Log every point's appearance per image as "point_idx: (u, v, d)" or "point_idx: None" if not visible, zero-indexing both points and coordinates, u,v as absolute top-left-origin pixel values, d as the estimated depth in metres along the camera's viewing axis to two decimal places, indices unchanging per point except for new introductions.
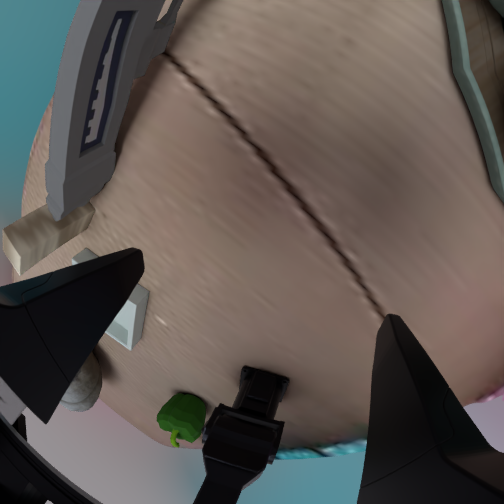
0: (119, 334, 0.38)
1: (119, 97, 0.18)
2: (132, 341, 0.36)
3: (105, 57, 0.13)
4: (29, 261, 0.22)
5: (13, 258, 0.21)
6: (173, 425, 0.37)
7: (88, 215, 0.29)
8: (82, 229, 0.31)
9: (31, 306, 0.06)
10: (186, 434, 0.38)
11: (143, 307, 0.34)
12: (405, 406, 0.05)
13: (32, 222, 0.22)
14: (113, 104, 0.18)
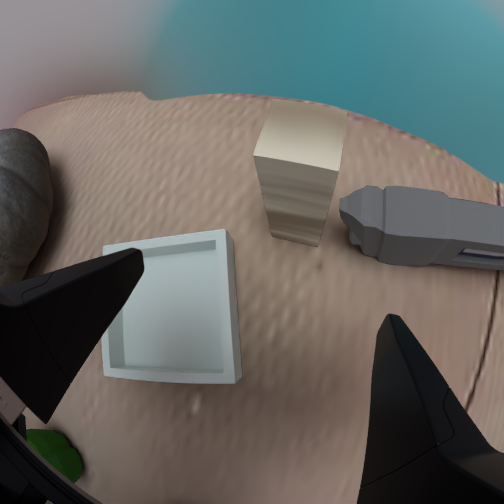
0: (114, 344, 0.21)
1: (499, 266, 0.16)
2: None
3: None
4: (289, 177, 0.13)
5: (295, 137, 0.12)
6: None
7: (311, 242, 0.22)
8: (278, 234, 0.23)
9: (31, 306, 0.06)
10: None
11: None
12: (405, 406, 0.05)
13: None
14: (495, 262, 0.16)
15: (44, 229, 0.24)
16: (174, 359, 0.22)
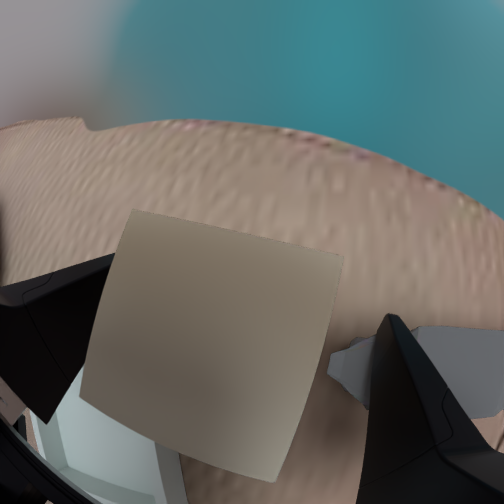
0: (51, 450, 0.12)
1: None
2: None
3: None
4: None
5: (167, 370, 0.04)
6: None
7: None
8: None
9: (31, 307, 0.06)
10: None
11: None
12: (404, 406, 0.05)
13: None
14: None
15: None
16: (113, 477, 0.13)
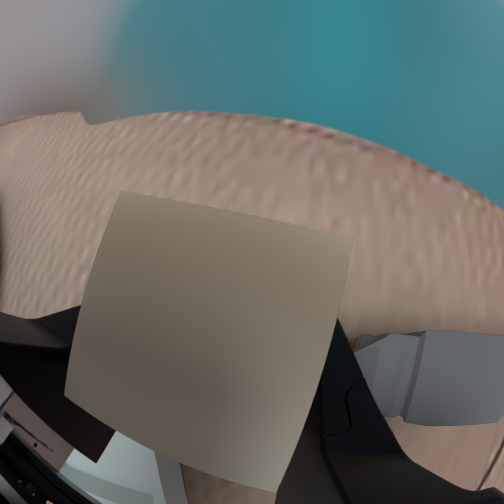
0: None
1: None
2: None
3: None
4: None
5: (155, 367, 0.04)
6: None
7: None
8: None
9: None
10: None
11: None
12: None
13: None
14: None
15: None
16: (112, 475, 0.13)
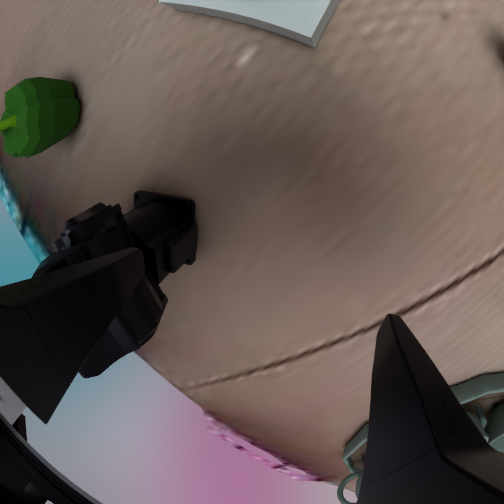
0: None
1: None
2: (187, 5, 0.13)
3: None
4: None
5: None
6: (25, 119, 0.15)
7: None
8: None
9: (31, 306, 0.06)
10: (18, 144, 0.17)
11: (279, 32, 0.14)
12: (405, 406, 0.05)
13: None
14: None
15: None
16: (249, 4, 0.13)
